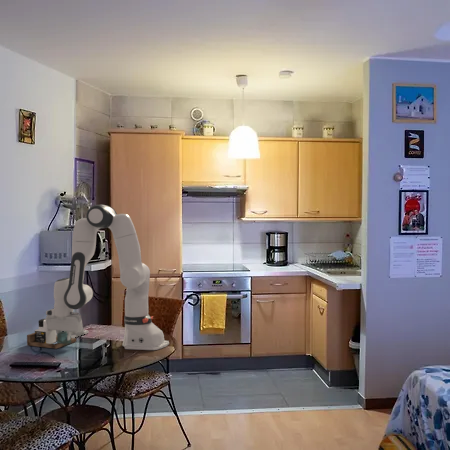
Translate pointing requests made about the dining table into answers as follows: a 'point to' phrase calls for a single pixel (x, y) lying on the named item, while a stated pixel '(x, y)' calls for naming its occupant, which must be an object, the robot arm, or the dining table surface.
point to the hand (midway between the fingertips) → (64, 339)
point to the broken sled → (78, 333)
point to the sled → (60, 343)
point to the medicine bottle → (44, 333)
